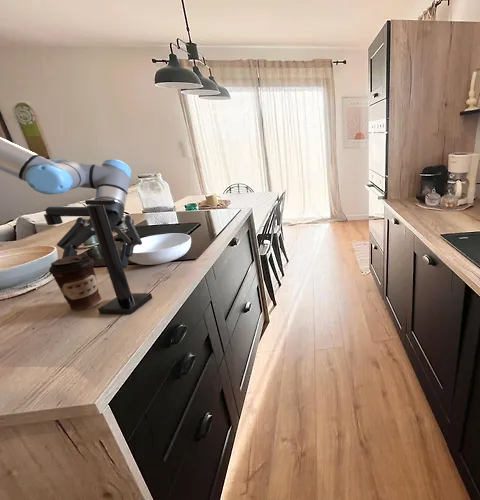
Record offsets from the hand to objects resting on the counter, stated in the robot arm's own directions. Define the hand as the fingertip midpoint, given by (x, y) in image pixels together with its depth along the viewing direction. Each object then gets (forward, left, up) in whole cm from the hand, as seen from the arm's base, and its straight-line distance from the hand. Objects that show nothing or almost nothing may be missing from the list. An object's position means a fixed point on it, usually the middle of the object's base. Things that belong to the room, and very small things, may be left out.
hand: (95, 268), depth 80 cm
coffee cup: (+2, -8, -7) cm, 11 cm away
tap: (+9, -8, -7) cm, 14 cm away
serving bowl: (+2, +23, -7) cm, 24 cm away
